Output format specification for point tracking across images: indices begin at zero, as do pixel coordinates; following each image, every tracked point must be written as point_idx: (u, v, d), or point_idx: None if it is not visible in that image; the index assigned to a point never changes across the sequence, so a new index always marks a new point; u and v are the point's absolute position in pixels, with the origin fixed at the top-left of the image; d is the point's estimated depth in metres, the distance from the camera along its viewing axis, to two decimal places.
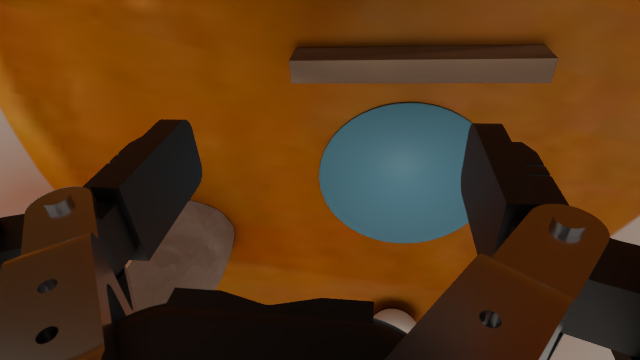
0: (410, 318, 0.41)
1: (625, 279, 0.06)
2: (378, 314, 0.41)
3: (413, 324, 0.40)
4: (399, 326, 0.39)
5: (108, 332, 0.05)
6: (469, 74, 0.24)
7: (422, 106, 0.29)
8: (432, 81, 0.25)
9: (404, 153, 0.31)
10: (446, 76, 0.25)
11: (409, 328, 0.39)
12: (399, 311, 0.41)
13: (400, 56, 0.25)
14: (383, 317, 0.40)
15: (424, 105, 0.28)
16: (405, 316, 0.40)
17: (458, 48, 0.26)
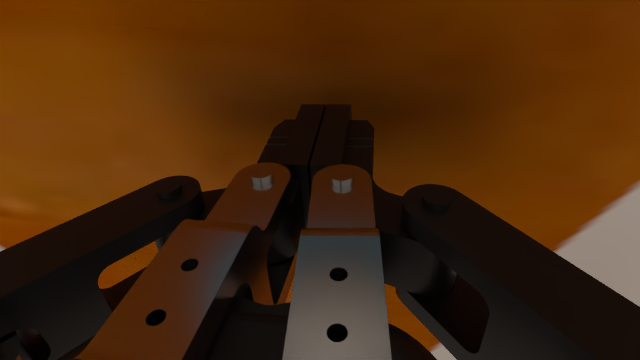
0: None
1: (378, 221, 0.08)
2: None
3: None
4: None
5: (199, 346, 0.05)
6: None
7: None
8: None
9: None
10: None
11: None
12: None
13: None
14: None
15: None
16: None
17: None
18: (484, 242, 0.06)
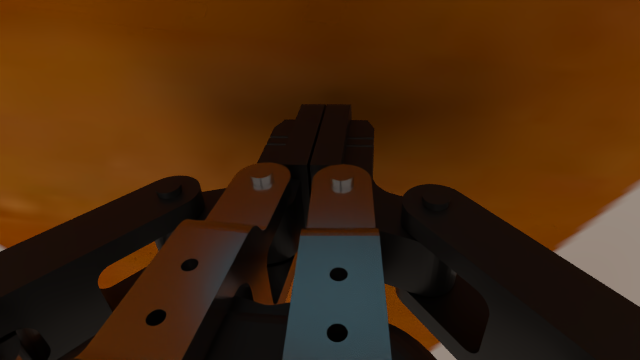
0: None
1: (378, 221, 0.08)
2: None
3: None
4: None
5: (199, 346, 0.05)
6: None
7: None
8: None
9: None
10: None
11: None
12: None
13: None
14: None
15: None
16: None
17: None
18: (484, 242, 0.06)
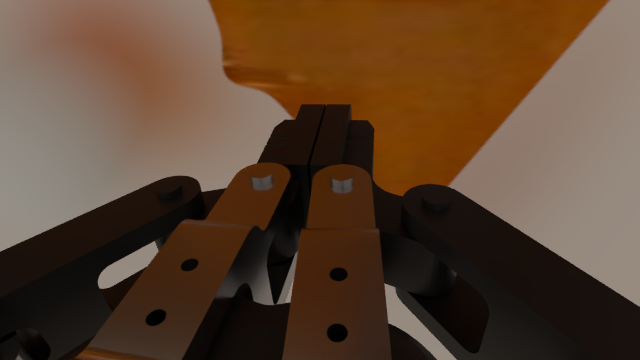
0: None
1: (378, 221, 0.08)
2: None
3: None
4: None
5: (199, 346, 0.05)
6: None
7: None
8: None
9: None
10: None
11: None
12: None
13: None
14: None
15: None
16: None
17: None
18: (484, 242, 0.06)
